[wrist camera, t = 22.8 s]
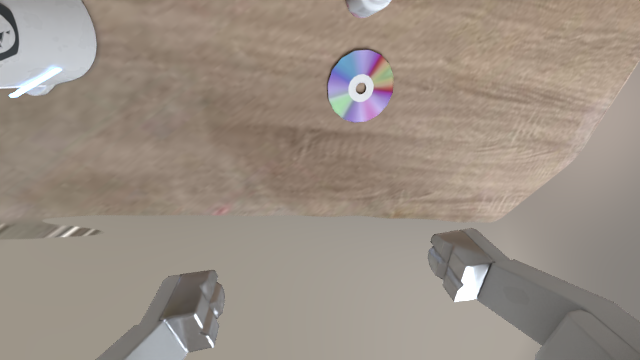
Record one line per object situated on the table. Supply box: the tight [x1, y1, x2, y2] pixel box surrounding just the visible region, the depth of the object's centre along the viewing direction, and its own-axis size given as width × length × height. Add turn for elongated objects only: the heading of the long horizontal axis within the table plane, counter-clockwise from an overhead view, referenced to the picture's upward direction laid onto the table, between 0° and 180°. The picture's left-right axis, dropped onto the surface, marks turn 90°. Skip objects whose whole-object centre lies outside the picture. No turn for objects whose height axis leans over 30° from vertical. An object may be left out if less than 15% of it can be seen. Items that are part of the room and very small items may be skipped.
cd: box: [328, 50, 394, 122], centre depth 38 cm, size 11×11×1 cm
